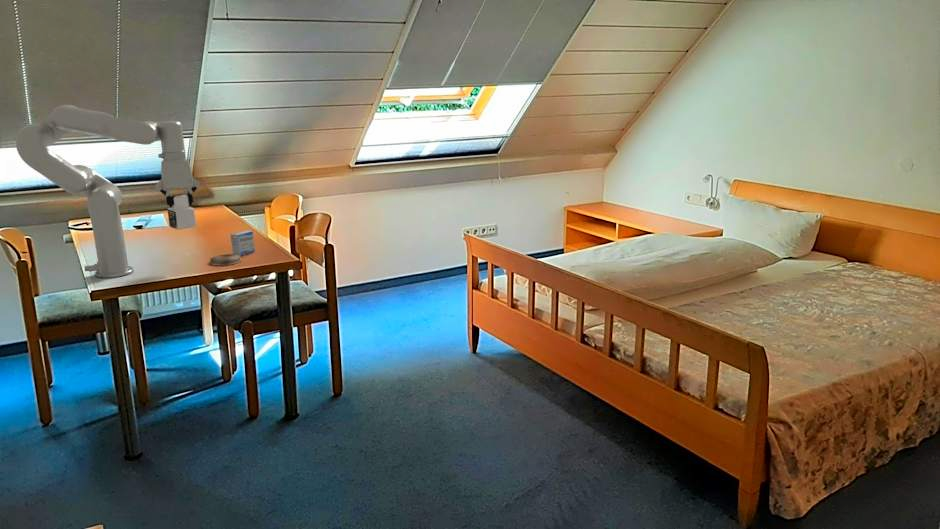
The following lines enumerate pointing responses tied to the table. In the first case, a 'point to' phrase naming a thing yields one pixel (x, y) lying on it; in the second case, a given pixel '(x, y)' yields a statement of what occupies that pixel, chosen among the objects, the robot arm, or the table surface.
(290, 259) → the table surface
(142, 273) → the table surface
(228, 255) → the grey flat disc
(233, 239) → the medicine box
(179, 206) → the medicine bottle
